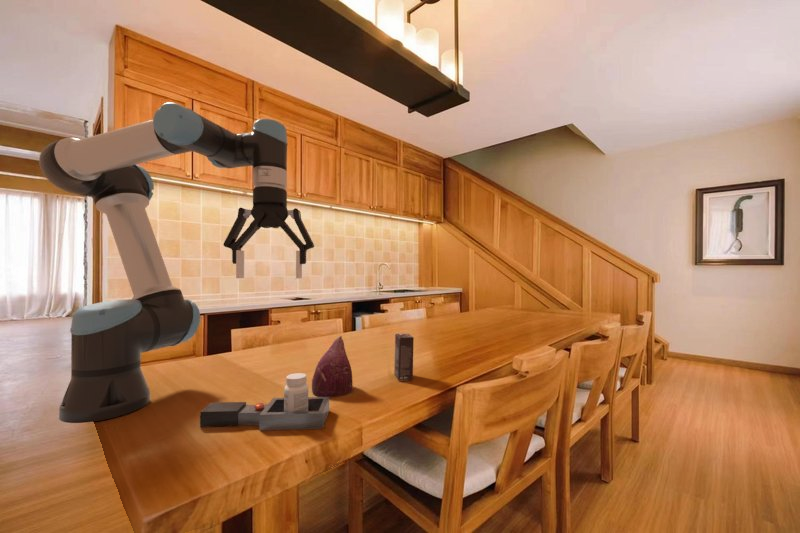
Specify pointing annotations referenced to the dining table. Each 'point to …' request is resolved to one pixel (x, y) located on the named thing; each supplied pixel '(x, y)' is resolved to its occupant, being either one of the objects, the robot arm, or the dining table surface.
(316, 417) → the shallow gray tray
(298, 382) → the pill bottle
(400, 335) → the box
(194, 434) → the dining table surface
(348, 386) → the vegetable
